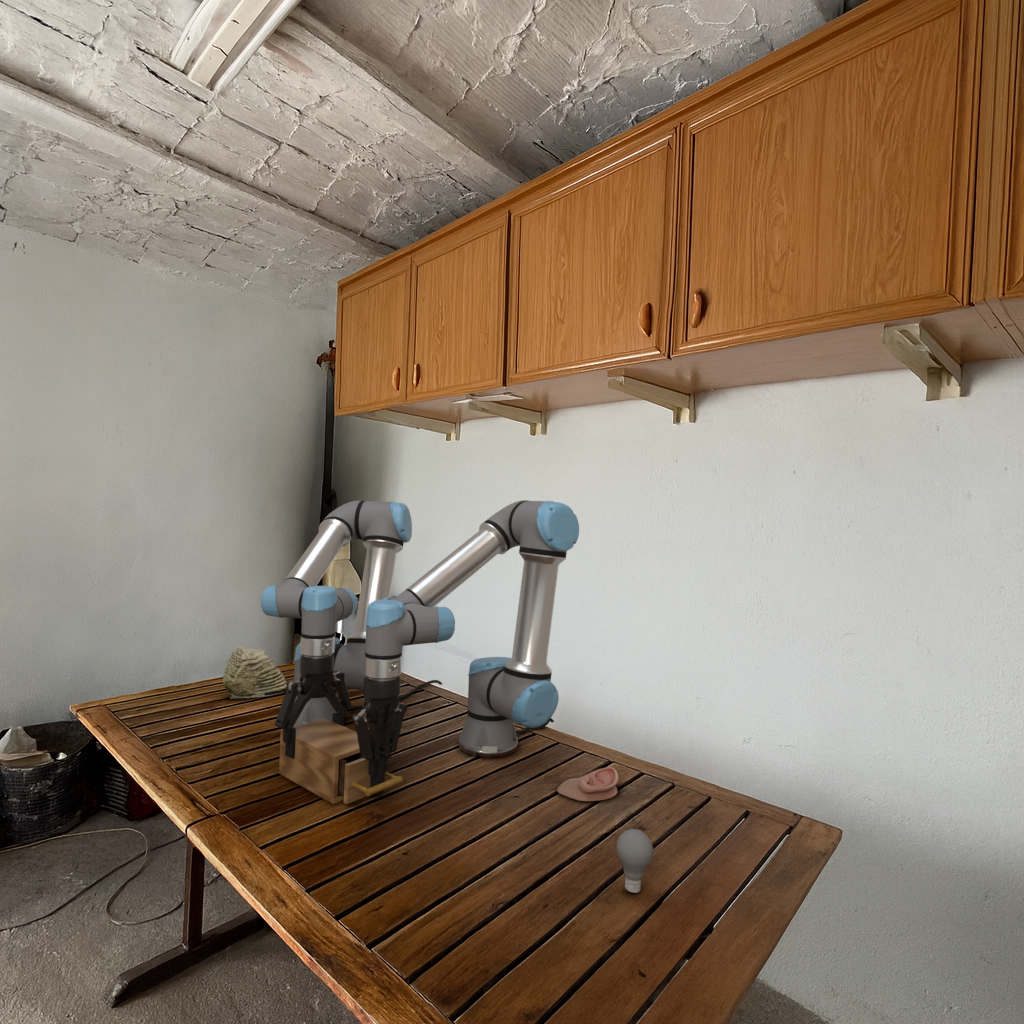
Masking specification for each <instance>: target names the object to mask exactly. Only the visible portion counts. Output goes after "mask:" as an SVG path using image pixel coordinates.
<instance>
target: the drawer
mask: <svg viewBox="0 0 1024 1024" xmlns="http://www.w3.org/2000/svg"><path fill="white" fill-rule="evenodd" d="M368 770H369V761H368V760H366V759H364V758H362V757H361V755H360V753H357V754H354V755H351V756H349V757H346V758H343V759H340V760H339V772H338V794H339V795H341V796H342V797H343V796H344V800H343V804H345V805H350V804H352V803H353V802H356V801H359V800H361V799H363V798H365V797H370V796H373V795H375V794H378V792H379V793H381V792H383V791H382V790H384V791H385V790H388V789H389V788H392V787H394V786H396V785H398V784H401V783H403V782H404V781H403V780H404V779H403V777H402V775H398V776H397V775H394V774H392V773H390V772H388V770H387V771H386V772H385V780H384V782H383V783H380V784H378V785H375V786H373V787H371V788H370V778H371V775H369V773H368ZM388 778H389V779H388ZM380 791H381V792H380Z"/></svg>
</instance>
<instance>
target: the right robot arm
mask: <svg viewBox="0 0 1024 1024" xmlns="http://www.w3.org/2000/svg"><path fill="white" fill-rule="evenodd" d="M579 537H580V524H579V520H578V517H577V515H576V514H575V512H574V510H573V509H572V508H571V507H570V506H569V505H567V504H566V503H562V502H558V501H554V500H526V499H525V500H524V499H523V500H517V501H514V502H512V503H510V504H508V505H506V506H504V507H503V508H501V509H500V510H498V511H497V512H495V513H493V514H492V515H491V516H490V517H489V518H487V519H486V520H484V521H483V522H482V523H480V524H479V527H478V531H477V532H476V533H474V534H473V535H472V536H471V537H470V538H468V539H467V540H465V542H463V543H462V544H461V545H460V546H458V547H457V548H456V549H455V550H453V551H451V553H449V554H448V555H447V556H446V557H444V558H443V559H442V560H441V561H440V562H438V563H437V564H436V565H435V566H433V567H432V568H431V569H429V570H428V571H427V572H426V573H424V574H423V575H422V576H420V578H418V579H417V580H416V581H414V582H412V584H411V585H409V586H408V587H407V588H405V590H403V591H402V592H401V593H399V594H398V595H397V596H396V595H395V596H394V595H393V596H392V595H391V597H386V598H384V599H383V600H377V601H373V602H371V603H370V604H369V605H368V609H367V617H366V623H365V625H366V642H365V659H364V675H365V676H366V677H365V678H364V681H363V690H362V695H363V698H364V699H363V703H362V705H363V706H362V708H361V710H360V712H358V713H357V714H355V713H354V714H353V715H352V716H351V720H352V722H353V723H354V725H355V729H356V730H355V732H357V737H358V743H359V749H360V755H361V757H362V758H364V759H366V760H368V761H369V770H368V773H369V775H371V778H370V788H371V787H373V786H375V785H378V784H380V783H383V782H384V780H385V772H386V771H387V772H388V761H389V760H390V759H391V758H393V757H392V753H396V751H397V748H398V743H399V739H400V734H401V730H402V726H403V722H404V717H405V715H406V713H407V711H408V708H409V706H408V704H405V703H402V702H401V701H400V699H399V698H398V697H399V696H400V694H401V682H402V681H401V677H400V675H401V674H402V658H403V647H405V646H413V645H414V646H415V645H425V644H433V643H435V644H437V643H440V642H446V641H449V640H451V638H452V637H453V635H454V634H455V631H456V618H455V616H454V613H453V611H452V610H451V608H449V607H447V606H438V604H439V603H441V602H442V601H443V600H444V599H445V598H447V597H448V596H449V595H450V594H451V593H453V592H454V591H455V590H456V589H458V587H459V586H460V587H461V585H462V584H464V583H465V582H466V581H467V580H468V579H470V578H471V577H472V576H473V575H474V574H475V573H477V572H478V571H479V570H480V569H482V568H483V567H484V566H485V565H487V564H488V563H489V562H490V561H491V560H492V559H494V558H495V557H496V556H497V555H505V554H506V553H507V552H508V551H510V550H511V549H514V548H515V547H519V549H518V554H519V555H520V556H521V558H522V559H523V568H522V573H521V575H522V576H521V582H520V590H519V591H520V592H519V599H518V606H517V615H516V623H515V628H514V629H515V631H514V639H513V645H512V654H511V657H507V656H487V657H480V658H476V659H474V660H472V661H470V664H469V669H468V675H467V676H468V685H467V686H468V687H467V688H468V689H467V714H466V715H467V716H466V719H465V722H464V723H463V727H462V730H461V733H460V735H459V737H458V748H459V749H460V750H461V751H462V752H463V753H465V754H467V755H469V756H472V757H477V758H485V759H498V758H499V759H500V758H504V757H507V756H512V755H513V754H514V753H515V752H517V751H518V746H519V739H518V735H521V734H524V733H526V732H528V731H531V730H538V729H539V730H540V729H543V728H546V726H548V725H549V723H555V720H554V719H553V718H552V717H553V716H554V714H555V712H556V711H557V707H558V704H559V690H558V689H557V687H556V686H555V684H554V683H553V682H552V673H553V670H552V668H551V667H550V666H549V664H548V655H549V646H550V641H551V632H552V625H553V624H552V623H553V615H554V607H555V599H556V593H557V591H556V590H557V583H558V576H559V575H558V574H559V567H560V565H561V563H563V562H564V561H566V559H567V555H568V554H567V552H568V551H570V550H571V549H573V547H574V545H575V544H577V542H578V539H579ZM514 723H515V724H516V725H519V726H522V727H525V728H523V729H519V730H518V729H517V730H516V727H515V724H514ZM384 791H385V790H382V791H380V792H378V793H381V792H384ZM378 793H377V794H378Z"/></svg>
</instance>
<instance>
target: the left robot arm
mask: <svg viewBox="0 0 1024 1024" xmlns="http://www.w3.org/2000/svg"><path fill="white" fill-rule="evenodd" d="M412 535H413V521H412V514H411V512H410V509H409V507H408V505H406V504H405V503H403V502H395V501H378V500H377V501H375V500H353V501H349V502H346V503H343V504H341V505H340V506H338V507H336V508H335V509H334V510H332V511H331V512H330V513H328V514H327V516H325V517H324V518H323V520H322V521H321V522H320V524H319V525H318V533H317V534H316V536H315V537H314V539H313V540H312V541H311V542H310V544H309V545H308V547H307V548H306V550H304V553H303V554H302V555H301V556H300V558H299V559H298V561H297V562H296V564H295V565H294V567H293V568H292V569H291V570H290V572H289V573H288V574H287V576H286V577H285V579H284V580H283V582H281V584H280V585H277V584H275V585H269V586H267V587H265V589H264V590H263V592H262V593H261V597H260V607H261V610H262V613H263V614H265V615H266V616H268V617H276V618H280V619H281V618H286V619H301V631H300V632H301V634H300V642H299V643H298V644H297V645H296V647H295V652H294V653H295V654H294V659H293V661H294V672H293V680H288V681H286V685H287V687H286V690H285V694H284V696H283V700H282V702H281V705H280V708H279V711H278V713H277V715H276V719H275V720H274V721H275V722H274V726H275V727H277V728H279V729H280V730H283V742H284V743H286V744H285V756H287V757H289V758H291V759H293V758H295V741H296V728H294V726H298V725H301V724H305V723H308V722H312V721H315V720H319V719H322V718H325V719H327V720H330V721H332V722H334V723H337V724H339V725H341V726H344V727H345V716H347V715H348V713H349V712H348V711H351V710H357V709H362V706H363V704H358V705H357V704H356V705H352V701H351V698H350V695H349V691H348V690H357V691H363V681H364V678H365V677H366V676H365V675H364V659H365V642H366V625H365V623H366V617H367V609H368V605H369V604H370V603H371V602H373V601H377V600H383V599H384V598H386V597H391V596H392V590H393V582H394V575H395V570H396V569H395V568H396V561H397V556H398V553H400V552H401V551H403V549H404V544H406V543H409V542H410V541H411V539H412ZM353 540H361V541H362V545H363V546H364V548H365V549H366V554H365V555H366V556H365V562H364V567H363V574H362V580H361V586H360V592H359V599H358V598H357V596H356V594H355V592H354V591H353V590H351V589H350V588H347V587H337V588H335V586H329V585H318V584H319V583H320V581H321V579H322V578H323V577H324V575H325V574H326V572H327V571H328V569H329V567H330V566H331V564H332V563H333V561H334V559H335V558H336V557H337V554H338V553H339V552H340V550H341V549H342V548H343V547H345V546H347V545H349V543H350V542H351V541H353ZM356 610H357V611H356ZM355 612H356V617H355V624H354V628H353V629H354V630H353V632H352V633H351V634H350V635H349V636H347V638H346V644H341V641H340V639H339V638H338V637H336V628H337V627H336V626H337V623H338V622H340V621H343V620H346V619H348V618H350V616H352V615H353V614H355ZM430 684H438V685H441V686H442V685H443V682H442V681H440V680H438V679H432V680H428V681H426V682H424V683H421V684H419V685H417V686H415V687H414V688H413V689H411V690H410V691H408V692H407V693H404V694H401V695H398V698H399V700H402V699H405V698H407V697H409V696H410V695H412V694H414V693H415V692H416V691H418V690H419V689H420V688H423V687H425V686H428V685H430Z"/></svg>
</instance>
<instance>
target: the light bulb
mask: <svg viewBox="0 0 1024 1024" xmlns="http://www.w3.org/2000/svg"><path fill="white" fill-rule="evenodd" d="M615 849H616V854H617V857H618V859H619V861H620V863H621V865H622V867H623V873H624V874H623V875H624V876H625V878H624V888H625V890H627V891H628V892H630V893H634V894H635V893H639V892H640V891H641V889H642V887H641V886H642V879H643V877H644V875H645V871H646V868H647V867H648V866H649V864H650V863H651V861H652V859H653V855H654V847H653V843H652V841H651V838H649V836H648V835H647V834H646V833H645V832H643V831H642V830H641V829H636V828H629V829H627V830H625V831H623V832H622V833H621V834H620V835H619V837H618V839H617V841H616V847H615Z"/></svg>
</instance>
